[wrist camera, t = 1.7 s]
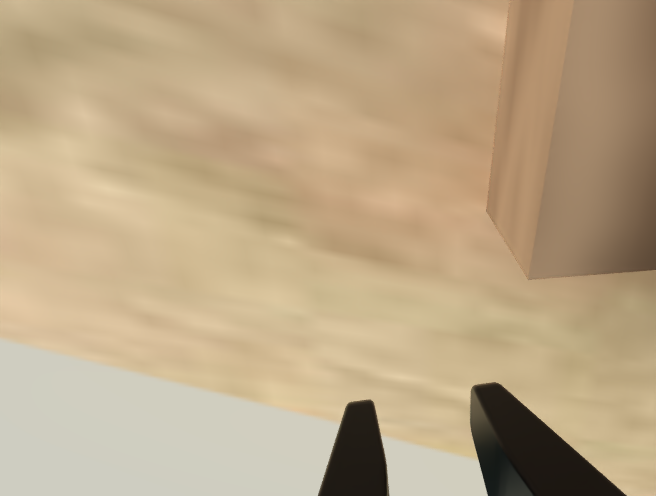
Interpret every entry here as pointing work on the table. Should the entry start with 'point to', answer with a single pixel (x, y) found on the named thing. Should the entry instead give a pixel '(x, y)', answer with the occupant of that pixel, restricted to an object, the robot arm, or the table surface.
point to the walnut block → (577, 137)
